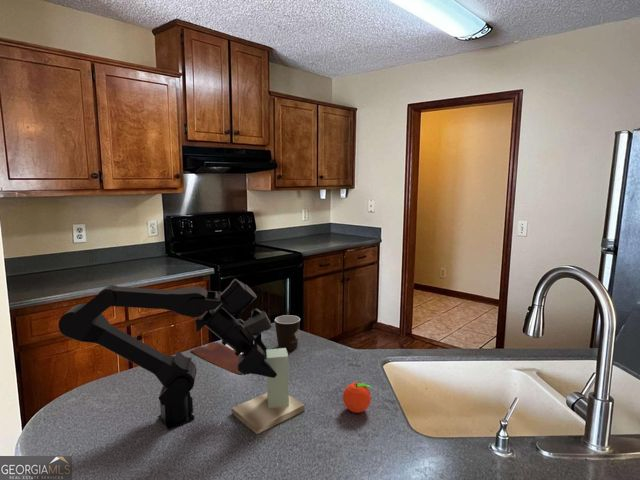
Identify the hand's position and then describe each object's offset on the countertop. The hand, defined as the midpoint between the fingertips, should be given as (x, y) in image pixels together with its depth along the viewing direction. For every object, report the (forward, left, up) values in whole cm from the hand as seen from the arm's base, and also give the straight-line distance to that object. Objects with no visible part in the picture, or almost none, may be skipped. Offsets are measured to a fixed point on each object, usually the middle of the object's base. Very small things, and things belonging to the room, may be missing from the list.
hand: (273, 367), depth 100 cm
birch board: (-2, 0, -11) cm, 11 cm away
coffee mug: (+27, +27, -11) cm, 40 cm away
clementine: (+15, -15, -11) cm, 24 cm away
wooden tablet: (+5, +34, -12) cm, 36 cm away
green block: (+1, 0, -9) cm, 9 cm away
